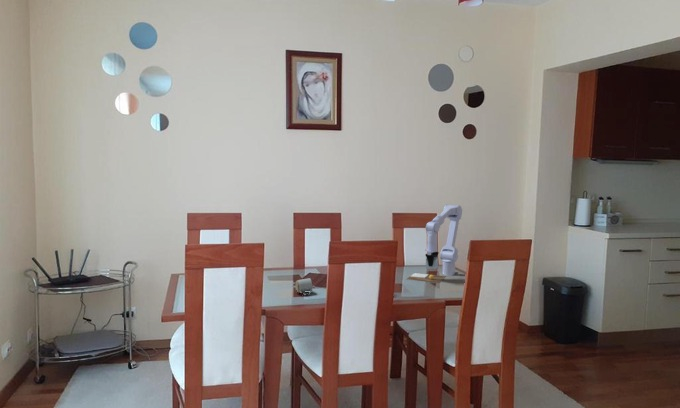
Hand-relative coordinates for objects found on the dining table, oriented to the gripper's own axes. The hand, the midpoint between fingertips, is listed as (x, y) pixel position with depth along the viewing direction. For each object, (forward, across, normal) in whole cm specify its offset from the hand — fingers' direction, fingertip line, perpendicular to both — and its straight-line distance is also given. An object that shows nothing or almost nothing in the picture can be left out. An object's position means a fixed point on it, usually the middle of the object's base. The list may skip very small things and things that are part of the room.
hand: (431, 265), depth 278 cm
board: (+10, -3, -4) cm, 11 cm away
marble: (+7, 0, 0) cm, 7 cm away
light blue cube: (+2, 0, 0) cm, 2 cm away
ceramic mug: (+10, +55, -55) cm, 78 cm away
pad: (+9, -6, -9) cm, 14 cm away
